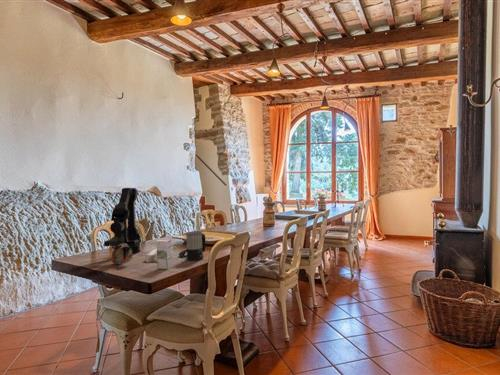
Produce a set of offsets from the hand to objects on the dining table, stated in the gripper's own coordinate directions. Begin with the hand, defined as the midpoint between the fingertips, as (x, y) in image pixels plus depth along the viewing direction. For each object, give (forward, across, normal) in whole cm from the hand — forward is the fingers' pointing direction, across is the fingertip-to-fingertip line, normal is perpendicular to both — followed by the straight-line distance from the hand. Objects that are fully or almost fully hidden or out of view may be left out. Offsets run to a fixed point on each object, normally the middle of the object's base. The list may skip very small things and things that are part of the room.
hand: (122, 258), depth 190 cm
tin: (+2, 0, 0) cm, 2 cm away
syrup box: (+2, +29, -8) cm, 30 cm away
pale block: (+2, +15, +14) cm, 21 cm away
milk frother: (+2, +34, +14) cm, 37 cm away
